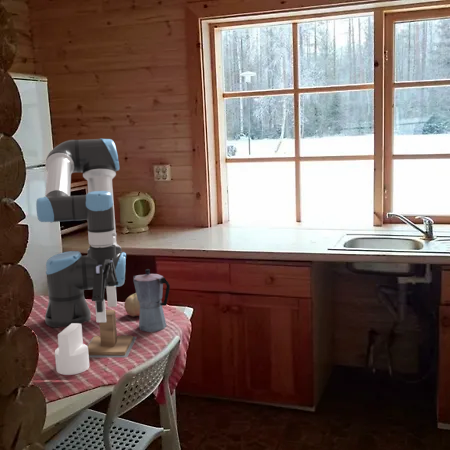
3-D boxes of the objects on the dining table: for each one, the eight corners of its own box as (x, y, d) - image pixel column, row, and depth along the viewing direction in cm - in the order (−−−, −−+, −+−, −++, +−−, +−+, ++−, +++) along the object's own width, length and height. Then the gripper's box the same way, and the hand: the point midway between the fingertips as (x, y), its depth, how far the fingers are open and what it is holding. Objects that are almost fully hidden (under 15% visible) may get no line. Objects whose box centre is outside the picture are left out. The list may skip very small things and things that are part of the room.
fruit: (127, 311, 209) (126, 290, 208) (150, 311, 209) (148, 289, 207) (123, 319, 201) (121, 297, 200) (146, 319, 201) (145, 297, 199)
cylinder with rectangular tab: (81, 377, 159) (77, 336, 157) (50, 375, 161) (46, 334, 159) (94, 363, 168) (91, 324, 166) (65, 361, 170) (62, 322, 167)
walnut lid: (94, 338, 184) (92, 305, 182) (132, 338, 183) (130, 305, 181) (84, 355, 172) (81, 319, 170) (124, 355, 172) (122, 319, 169)
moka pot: (144, 319, 201) (141, 263, 197) (181, 327, 193) (179, 268, 189) (126, 329, 193) (122, 270, 189) (164, 337, 185) (161, 276, 181)
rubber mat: (93, 338, 186) (93, 337, 185) (137, 338, 185) (137, 336, 185) (79, 359, 171) (79, 357, 171) (127, 359, 170) (127, 357, 170)
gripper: (104, 254, 159) (109, 329, 163) (124, 235, 183) (128, 300, 187) (77, 255, 159) (83, 329, 163) (100, 235, 184) (104, 300, 188)
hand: (107, 314), depth 175 cm, fingers open, 13 cm apart
